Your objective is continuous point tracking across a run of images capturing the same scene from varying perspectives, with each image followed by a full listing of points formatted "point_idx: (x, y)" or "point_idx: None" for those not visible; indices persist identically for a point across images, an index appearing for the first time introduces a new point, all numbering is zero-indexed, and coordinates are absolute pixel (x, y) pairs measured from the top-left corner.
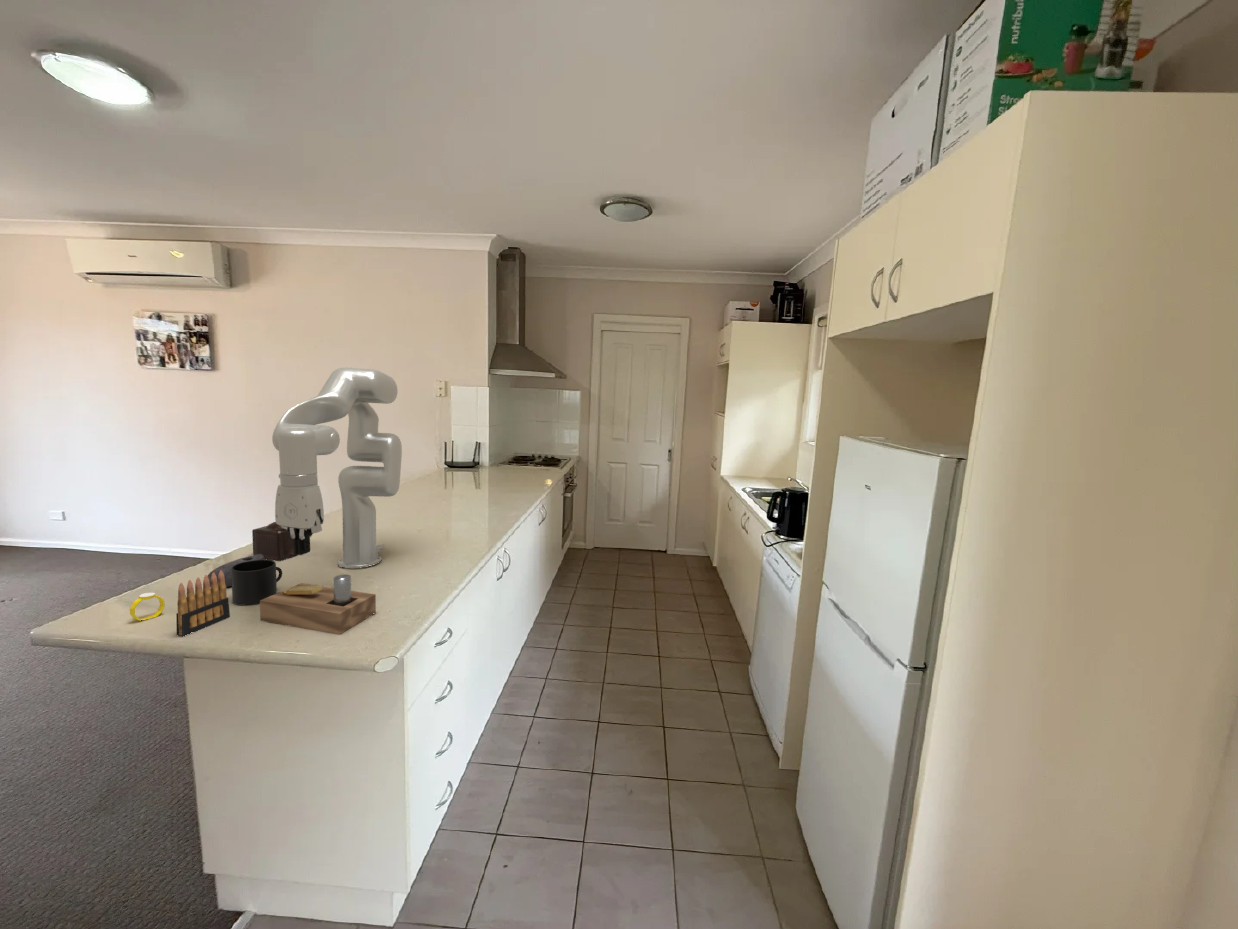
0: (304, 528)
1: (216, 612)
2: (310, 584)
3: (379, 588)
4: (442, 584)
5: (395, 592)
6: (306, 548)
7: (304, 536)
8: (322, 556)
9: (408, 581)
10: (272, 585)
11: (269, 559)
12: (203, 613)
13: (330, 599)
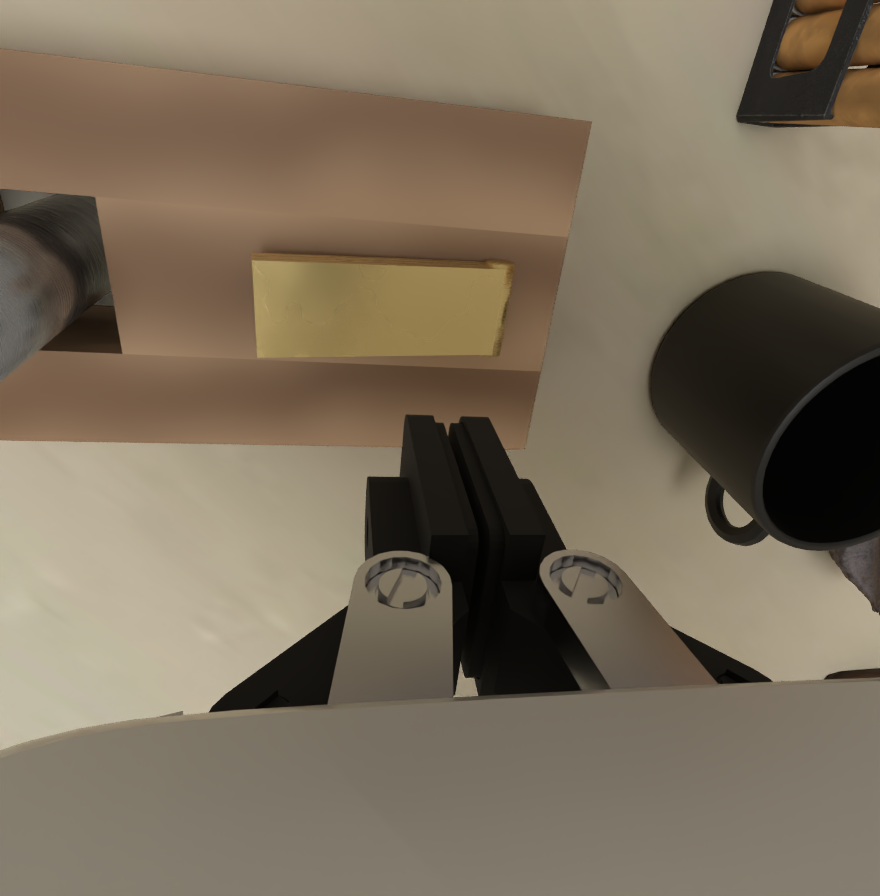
0: (60, 736)
1: (811, 23)
2: None
3: (252, 612)
4: (8, 725)
5: (139, 603)
6: (366, 509)
7: (352, 615)
8: None
9: (189, 700)
10: (686, 410)
11: (873, 671)
12: None
13: (131, 276)
